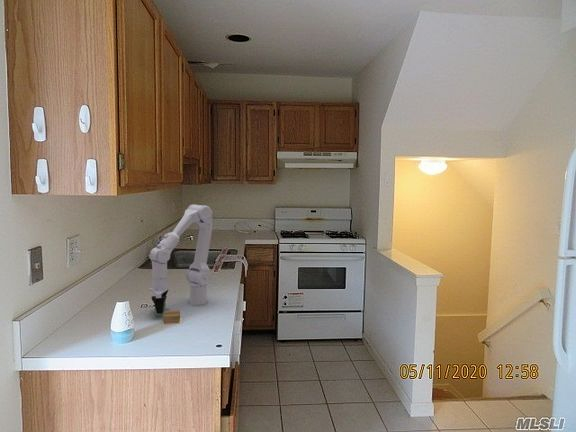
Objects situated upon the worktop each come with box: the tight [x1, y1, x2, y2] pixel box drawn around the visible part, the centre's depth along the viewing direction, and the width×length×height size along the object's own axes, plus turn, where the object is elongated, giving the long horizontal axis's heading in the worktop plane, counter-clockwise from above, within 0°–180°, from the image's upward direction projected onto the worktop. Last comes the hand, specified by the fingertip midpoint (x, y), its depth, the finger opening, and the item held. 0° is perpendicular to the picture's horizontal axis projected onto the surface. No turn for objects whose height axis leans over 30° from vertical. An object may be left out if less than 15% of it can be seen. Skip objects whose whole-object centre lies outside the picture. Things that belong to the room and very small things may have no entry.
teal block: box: [154, 299, 167, 316], centre depth 160 cm, size 4×4×5 cm
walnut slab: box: [162, 309, 181, 325], centre depth 153 cm, size 6×6×3 cm
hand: (160, 310), depth 160 cm, fingers open, 7 cm apart
